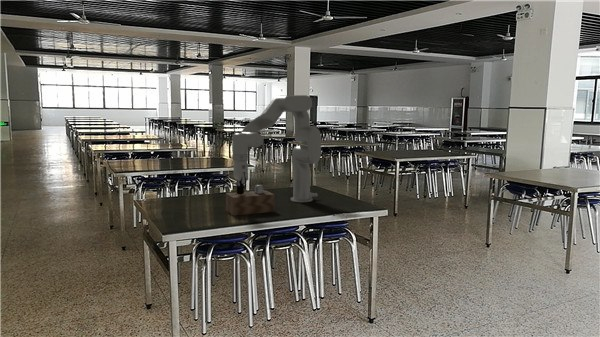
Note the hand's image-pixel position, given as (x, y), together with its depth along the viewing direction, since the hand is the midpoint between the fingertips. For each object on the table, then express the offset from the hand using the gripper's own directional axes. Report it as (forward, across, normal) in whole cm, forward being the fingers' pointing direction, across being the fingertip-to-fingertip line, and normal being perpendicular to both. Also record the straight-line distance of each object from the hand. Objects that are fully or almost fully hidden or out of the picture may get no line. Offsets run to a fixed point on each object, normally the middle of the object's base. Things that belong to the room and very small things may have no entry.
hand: (240, 193), depth 231 cm
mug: (+10, +19, -6) cm, 22 cm away
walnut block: (+9, 0, -5) cm, 11 cm away
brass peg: (+8, 0, 0) cm, 8 cm away
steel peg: (+4, 0, -10) cm, 11 cm away
